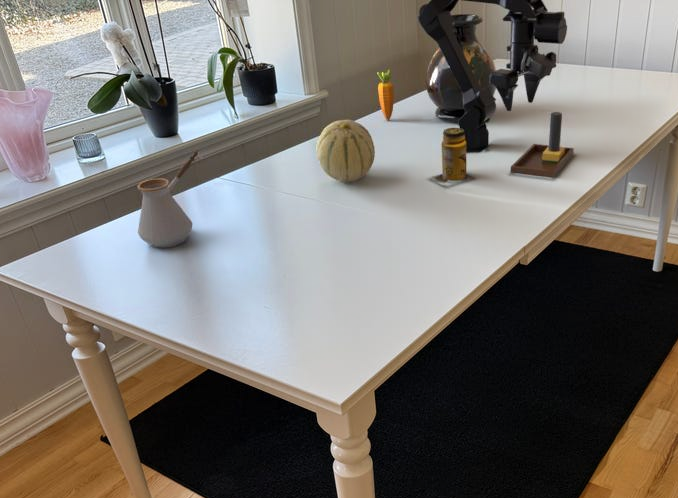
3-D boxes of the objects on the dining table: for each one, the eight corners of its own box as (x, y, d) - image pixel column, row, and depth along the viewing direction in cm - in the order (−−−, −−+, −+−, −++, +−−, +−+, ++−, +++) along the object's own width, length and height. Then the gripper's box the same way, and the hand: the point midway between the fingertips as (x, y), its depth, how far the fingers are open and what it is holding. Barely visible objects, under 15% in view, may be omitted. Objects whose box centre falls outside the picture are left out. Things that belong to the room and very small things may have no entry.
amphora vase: (487, 129, 204) (488, 25, 188) (418, 125, 210) (413, 24, 194) (503, 108, 221) (505, 11, 204) (438, 105, 227) (436, 10, 210)
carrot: (377, 122, 215) (373, 71, 206) (384, 117, 218) (380, 67, 210) (392, 123, 213) (388, 72, 204) (398, 118, 217) (395, 68, 208)
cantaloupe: (352, 164, 185) (346, 107, 176) (389, 177, 176) (385, 117, 168) (308, 181, 177) (299, 121, 168) (344, 194, 168) (337, 133, 159)
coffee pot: (171, 255, 146) (152, 187, 137) (130, 247, 150) (109, 180, 141) (233, 215, 161) (219, 152, 152) (194, 209, 165) (178, 147, 157)
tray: (552, 180, 169) (553, 171, 168) (510, 174, 174) (510, 166, 172) (573, 156, 182) (574, 148, 181) (533, 151, 187) (533, 143, 185)
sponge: (558, 163, 177) (562, 117, 170) (542, 162, 178) (544, 116, 171) (564, 156, 181) (568, 110, 174) (548, 154, 182) (550, 109, 176)
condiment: (473, 179, 173) (473, 130, 166) (446, 187, 169) (444, 138, 162) (456, 171, 178) (455, 123, 171) (429, 179, 174) (427, 131, 167)
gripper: (526, 52, 159) (523, 121, 168) (571, 37, 170) (566, 103, 179) (488, 47, 165) (487, 113, 175) (534, 33, 176) (531, 96, 185)
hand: (519, 106), depth 178 cm, fingers open, 9 cm apart
